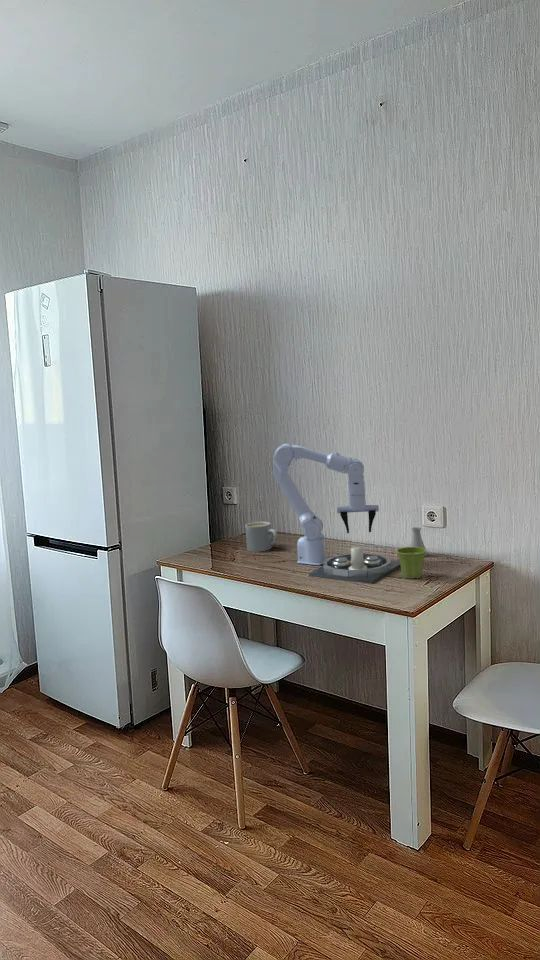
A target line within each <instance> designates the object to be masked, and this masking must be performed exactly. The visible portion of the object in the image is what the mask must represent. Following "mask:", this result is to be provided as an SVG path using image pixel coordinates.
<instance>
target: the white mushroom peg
mask: <svg viewBox="0 0 540 960" xmlns="http://www.w3.org/2000/svg"><path fill="white" fill-rule="evenodd" d="M363 553H364V547H362V546H352V547H350V554H351V562H352V566H350V567H349V570H363V569H367V566H364V558H363Z"/></svg>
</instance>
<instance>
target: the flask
mask: <svg viewBox="0 0 540 960" xmlns="http://www.w3.org/2000/svg"><path fill="white" fill-rule="evenodd" d="M421 529H422V527H419V526H417V527H416V526H414V527H411V530H412V539H411V541H410V542H411V543H410V546H409V547H420V548H424V549H426V546H425V543H424V540H423V539H422V535H421ZM428 555H429V554H428V550H427V549H426V552H425V556H424V557H427V556H428Z"/></svg>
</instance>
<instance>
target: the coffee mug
mask: <svg viewBox="0 0 540 960" xmlns="http://www.w3.org/2000/svg"><path fill="white" fill-rule="evenodd" d="M244 526H245V527H244V529H245V541H246V550H248V551H247V552H249V551H252V552H251V553H261V552H260V551H264V552H267V551H266V550H268V551H270V550H269V549H271V548H272V549H273V545H275V544H276V543H277V542H278V537H279V536H278V532H277V531H276V529H273V528H271V522H268V521H254V522H249V523H246V524H245V525H244ZM272 534H273V539H272ZM272 549H271V550H272Z"/></svg>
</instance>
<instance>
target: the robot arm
mask: <svg viewBox="0 0 540 960" xmlns="http://www.w3.org/2000/svg"><path fill="white" fill-rule="evenodd" d="M300 459H306V460H310V461H312V462H318V463H321V464H324V465H325V466H326V468H327V469H328V470H331V471H333V472H334V471H335V472H337V473H342V474H347V475H348V482H347V483H348V505H347V506H346V505H345V506H337V507H336V514H339V515H340V518H341V519H342V521H343V524H344V526H345V529H346V534H350V526H349V520H348V519H349V517H348V516H349V515H348V513H364V512H366V513H367V512H368V533H371V532H372V526H373V522H374V520H375V518H376V515H377V512H379V511H380V509H379V508H380V507H379V504H373V505H372V504H366V487H365V486H366V485H365V475H364V473H365V465H364V463H363V461H361V460H359V459H357V458H353V457H352V456H350V457H347V456H344V455H341V454H340V452H337V451H336V452H335V453H334V452H331V453H330V454H325V453H322V452H320V451H317V450H313V449H311V448H308V447H305V446H301V445H299V444H298V445H297V444H291V443H288V442H286V443H283V444H280V446H278V447H277V448H276V449H275V452H274V455H273V457H272V460H273V463H272V464H273V466H272V468H273V469H272V475H273V477H274V478H275V481H277V484H278V485H279V487H280V489H281V490H282V492H283V493H284V495H285V497H286V499H287V501H288V502H289V503H290V505H291V507H292V508H293V509H294V512H295V513H296V515H297V517H298V518H299V522H300V524H301V526H302V529H303V530H302V531H303V535H304V536H301V537H299V539H298V540H297V543H296V544H297V545H296V547H297V562H296V563H297V564H302V565H314V566H321V565H323V563H324V560H326V559H328V558H327V557H326V547H325V536H324V534H323V533H322V530H323V528H324V523H323V521H322V519H320V518H319V517H317V515H316V514H315V512H314V511H312V510H311V508H310V507H309V505H308V503H307V502H306V499H305V498H304V497H303V495H302V493H301V492H300V490H299V488H298V486H297V485H296V484H295V481H294V480H293V479H292V477H291V475H290V473H289V469H290V465H291V462H292V461H293V460H294V461H295V460H296V461H297V460H300Z"/></svg>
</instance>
